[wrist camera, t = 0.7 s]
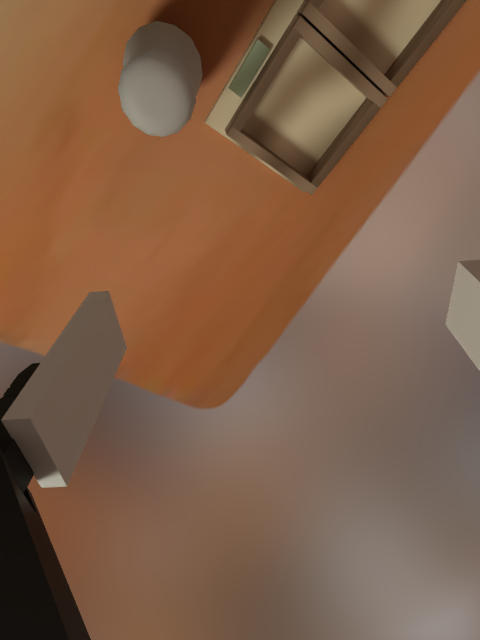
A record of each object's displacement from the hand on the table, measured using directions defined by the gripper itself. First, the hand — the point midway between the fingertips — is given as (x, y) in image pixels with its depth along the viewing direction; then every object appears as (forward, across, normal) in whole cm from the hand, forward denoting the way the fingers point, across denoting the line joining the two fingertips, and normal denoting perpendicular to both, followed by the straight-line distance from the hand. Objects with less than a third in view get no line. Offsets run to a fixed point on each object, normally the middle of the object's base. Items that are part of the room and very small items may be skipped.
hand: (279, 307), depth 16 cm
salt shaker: (+24, -7, +9) cm, 27 cm away
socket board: (+26, +6, +8) cm, 28 cm away
